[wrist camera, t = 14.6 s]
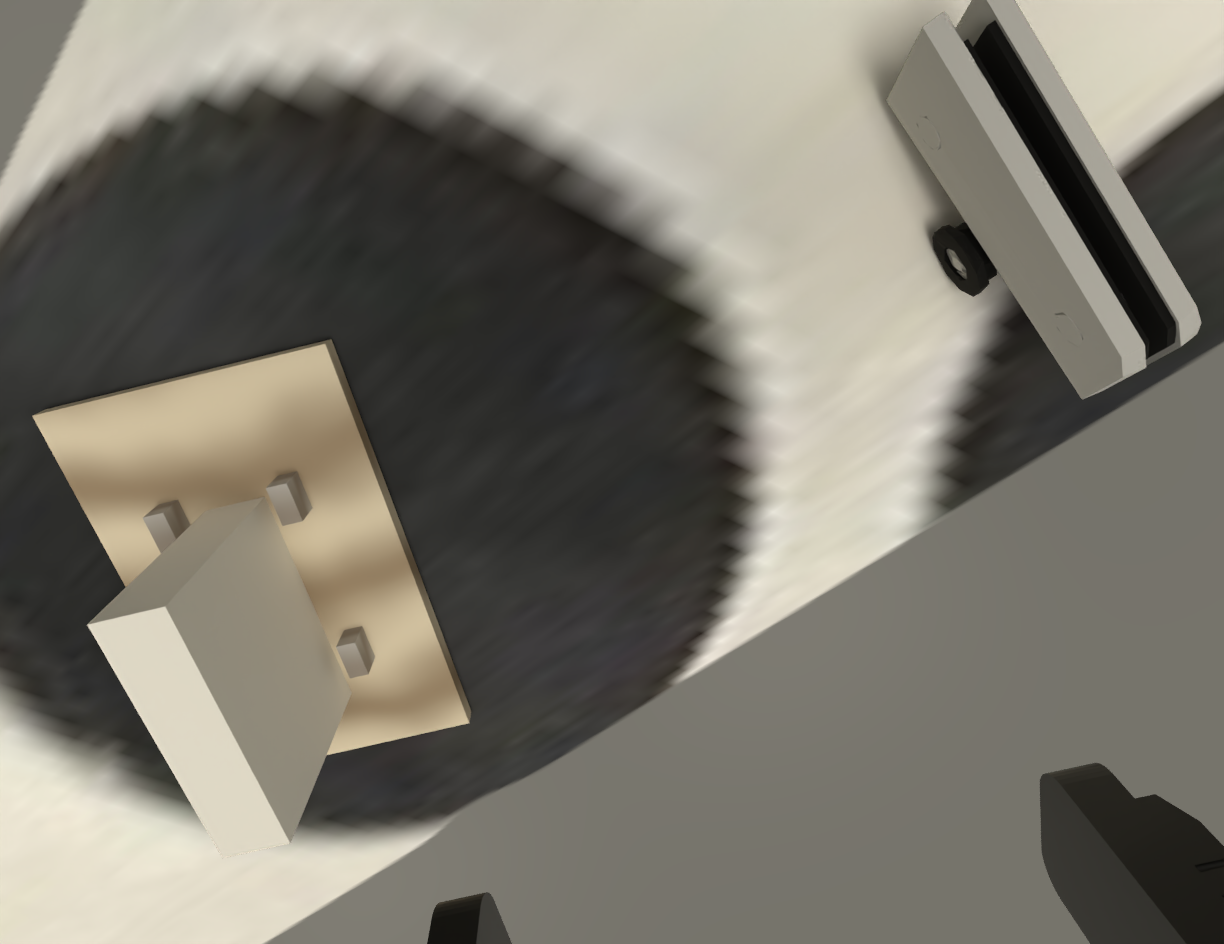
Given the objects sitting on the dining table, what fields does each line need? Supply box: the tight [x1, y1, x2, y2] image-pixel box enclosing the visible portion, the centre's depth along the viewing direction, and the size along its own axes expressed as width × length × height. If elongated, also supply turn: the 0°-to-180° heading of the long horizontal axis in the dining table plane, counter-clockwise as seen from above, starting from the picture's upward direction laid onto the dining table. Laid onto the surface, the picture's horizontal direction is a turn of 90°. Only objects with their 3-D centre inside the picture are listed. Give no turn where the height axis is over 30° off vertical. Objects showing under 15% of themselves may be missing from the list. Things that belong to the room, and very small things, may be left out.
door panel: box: [87, 497, 352, 858], centre depth 35 cm, size 12×4×10 cm, turn 13°
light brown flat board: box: [33, 339, 471, 755], centre depth 39 cm, size 22×14×2 cm, turn 13°
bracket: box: [886, 0, 1201, 399], centre depth 31 cm, size 4×10×15 cm
